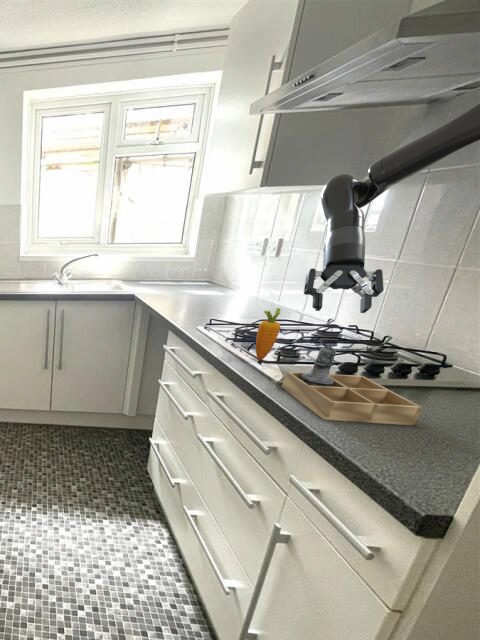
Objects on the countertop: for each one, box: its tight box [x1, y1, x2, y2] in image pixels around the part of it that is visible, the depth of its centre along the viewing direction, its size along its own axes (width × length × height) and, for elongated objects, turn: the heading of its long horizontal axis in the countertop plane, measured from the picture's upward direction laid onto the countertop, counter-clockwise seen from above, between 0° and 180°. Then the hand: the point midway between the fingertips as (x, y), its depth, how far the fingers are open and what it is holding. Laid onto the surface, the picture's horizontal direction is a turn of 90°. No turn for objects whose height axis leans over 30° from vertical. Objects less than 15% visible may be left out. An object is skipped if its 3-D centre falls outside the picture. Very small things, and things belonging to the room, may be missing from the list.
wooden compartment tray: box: [281, 371, 424, 426], centre depth 92 cm, size 16×16×4 cm
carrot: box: [255, 307, 281, 362], centre depth 115 cm, size 5×5×15 cm
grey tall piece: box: [302, 342, 337, 386], centre depth 94 cm, size 6×6×12 cm
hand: (341, 310), depth 99 cm, fingers open, 8 cm apart
